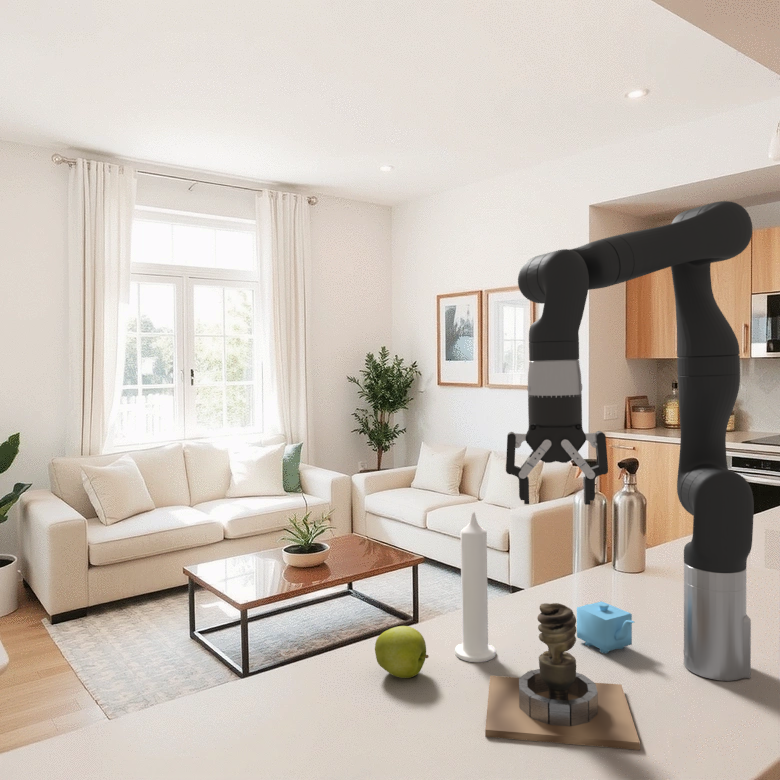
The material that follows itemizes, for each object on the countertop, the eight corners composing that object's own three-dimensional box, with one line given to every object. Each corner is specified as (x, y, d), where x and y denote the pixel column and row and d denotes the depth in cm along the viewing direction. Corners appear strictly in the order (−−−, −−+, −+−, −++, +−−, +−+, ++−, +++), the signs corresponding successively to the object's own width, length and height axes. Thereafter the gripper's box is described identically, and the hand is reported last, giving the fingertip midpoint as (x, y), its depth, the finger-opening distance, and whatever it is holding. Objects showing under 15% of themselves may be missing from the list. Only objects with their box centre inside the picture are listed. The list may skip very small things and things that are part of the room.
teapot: (647, 656, 115) (647, 613, 115) (621, 664, 113) (621, 620, 112) (595, 632, 126) (595, 592, 126) (571, 639, 123) (570, 598, 123)
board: (621, 690, 104) (621, 684, 103) (639, 750, 88) (639, 742, 88) (490, 681, 107) (490, 675, 107) (485, 736, 92) (485, 729, 92)
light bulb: (533, 697, 100) (532, 597, 100) (569, 694, 101) (568, 595, 100) (545, 716, 95) (543, 611, 94) (583, 714, 95) (582, 609, 94)
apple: (423, 691, 105) (422, 640, 104) (368, 682, 108) (367, 633, 108) (437, 669, 112) (436, 622, 112) (386, 661, 115) (385, 615, 115)
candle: (494, 664, 114) (492, 517, 112) (452, 661, 115) (450, 516, 114) (496, 646, 120) (494, 508, 119) (457, 643, 122) (455, 507, 121)
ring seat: (592, 690, 102) (592, 670, 102) (601, 729, 91) (601, 707, 91) (519, 685, 104) (518, 666, 104) (519, 722, 93) (519, 701, 93)
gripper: (602, 389, 99) (604, 498, 100) (504, 391, 102) (506, 498, 103) (609, 392, 92) (611, 510, 93) (504, 394, 95) (506, 508, 95)
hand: (556, 503), depth 98 cm, fingers open, 8 cm apart
